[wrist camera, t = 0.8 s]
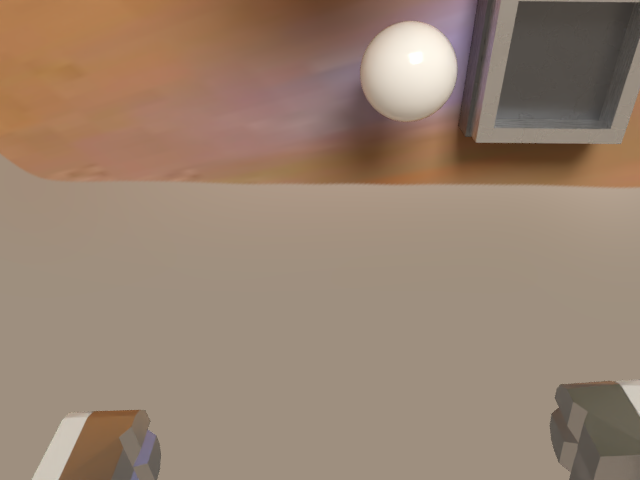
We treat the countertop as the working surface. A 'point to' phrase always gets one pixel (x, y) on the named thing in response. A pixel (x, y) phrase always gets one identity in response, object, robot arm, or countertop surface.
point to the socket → (552, 71)
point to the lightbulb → (408, 71)
